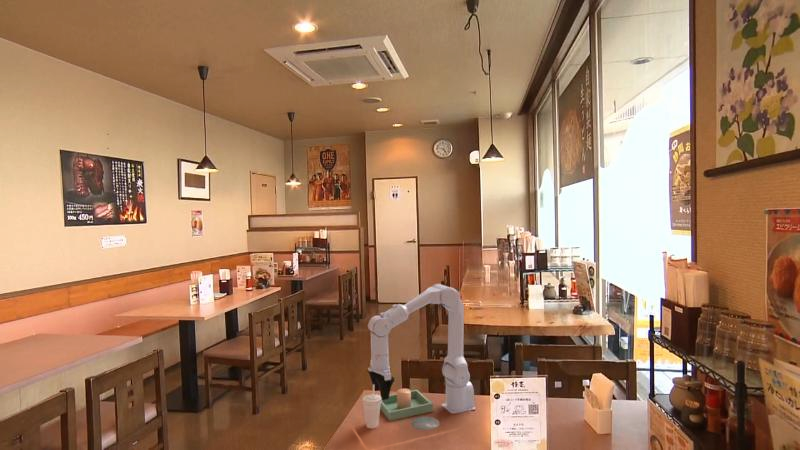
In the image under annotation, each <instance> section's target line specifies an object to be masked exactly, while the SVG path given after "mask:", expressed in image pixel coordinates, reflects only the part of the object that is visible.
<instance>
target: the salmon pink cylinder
mask: <svg viewBox="0 0 800 450" xmlns="http://www.w3.org/2000/svg"><path fill="white" fill-rule="evenodd" d="M411 391H412V390H411V389H410V388H399V389H397V391H396V394H397V408H398V410H399V409H404V408H409V407H411Z"/></svg>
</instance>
